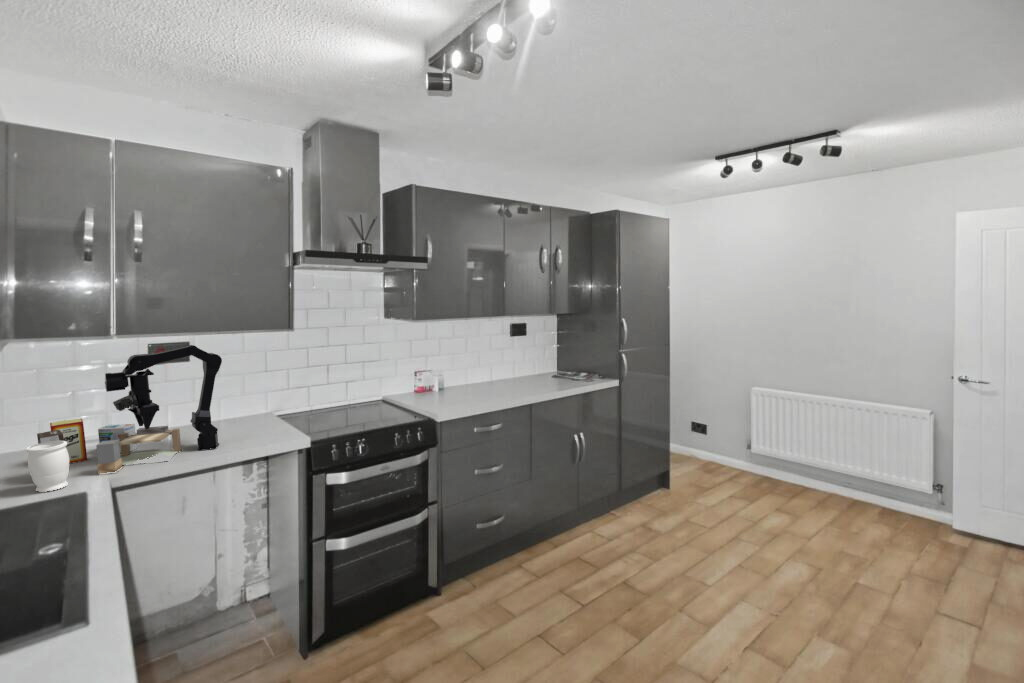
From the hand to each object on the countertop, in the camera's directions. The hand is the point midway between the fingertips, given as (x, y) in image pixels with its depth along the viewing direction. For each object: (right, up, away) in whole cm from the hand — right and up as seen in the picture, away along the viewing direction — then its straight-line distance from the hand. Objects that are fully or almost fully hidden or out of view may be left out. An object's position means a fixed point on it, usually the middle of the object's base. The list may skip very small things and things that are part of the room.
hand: (144, 427), depth 201 cm
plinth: (-5, -14, -11) cm, 18 cm away
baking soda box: (-30, -14, +2) cm, 33 cm away
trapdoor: (-2, -5, +5) cm, 7 cm away
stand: (-1, -13, +4) cm, 13 cm away
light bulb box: (-19, -12, +13) cm, 27 cm away
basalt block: (-5, -10, -11) cm, 16 cm away
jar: (-13, -16, -25) cm, 33 cm away
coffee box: (-21, -16, -15) cm, 30 cm away
